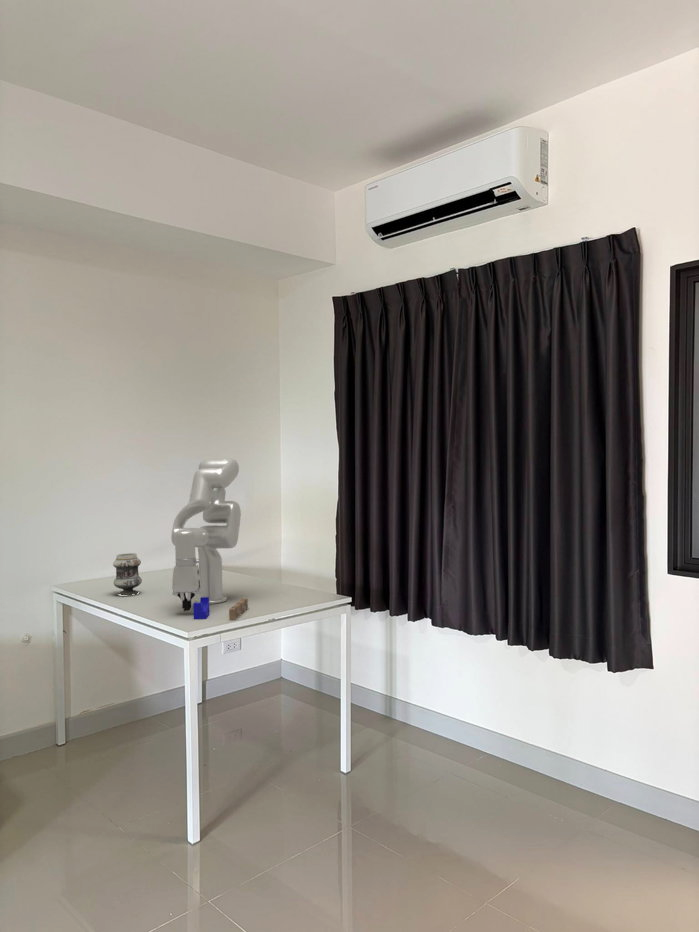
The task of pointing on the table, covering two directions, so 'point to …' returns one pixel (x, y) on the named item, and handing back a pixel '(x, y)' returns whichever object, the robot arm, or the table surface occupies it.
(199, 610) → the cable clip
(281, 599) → the table surface
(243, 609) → the walnut rail
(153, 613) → the table surface
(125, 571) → the apothecary jar
